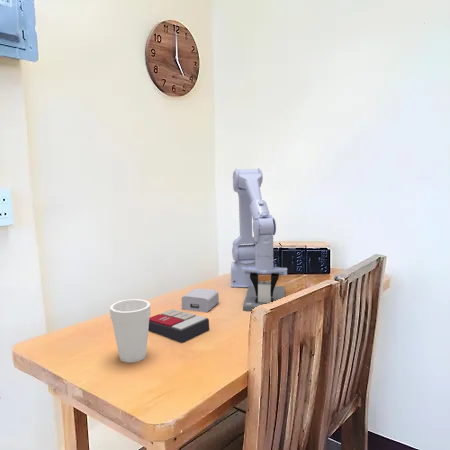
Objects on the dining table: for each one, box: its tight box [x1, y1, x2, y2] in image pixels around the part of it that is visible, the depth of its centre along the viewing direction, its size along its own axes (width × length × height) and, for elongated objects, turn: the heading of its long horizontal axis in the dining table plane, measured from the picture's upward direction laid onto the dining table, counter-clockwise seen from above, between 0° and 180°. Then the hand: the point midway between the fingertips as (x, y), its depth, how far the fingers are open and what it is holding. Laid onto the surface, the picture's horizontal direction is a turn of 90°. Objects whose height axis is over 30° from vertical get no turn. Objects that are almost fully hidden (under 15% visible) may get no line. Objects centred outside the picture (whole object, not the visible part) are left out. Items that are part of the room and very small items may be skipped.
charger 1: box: [181, 288, 220, 313], centre depth 139 cm, size 5×9×15 cm
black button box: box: [148, 308, 210, 344], centre depth 118 cm, size 11×4×15 cm
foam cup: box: [109, 298, 151, 364], centre depth 101 cm, size 10×9×13 cm
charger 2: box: [257, 280, 272, 304], centre depth 136 cm, size 4×4×6 cm
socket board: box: [242, 285, 286, 312], centre depth 141 cm, size 13×22×2 cm, turn 172°
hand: (264, 295), depth 136 cm, fingers closed on charger 2, 4 cm apart
